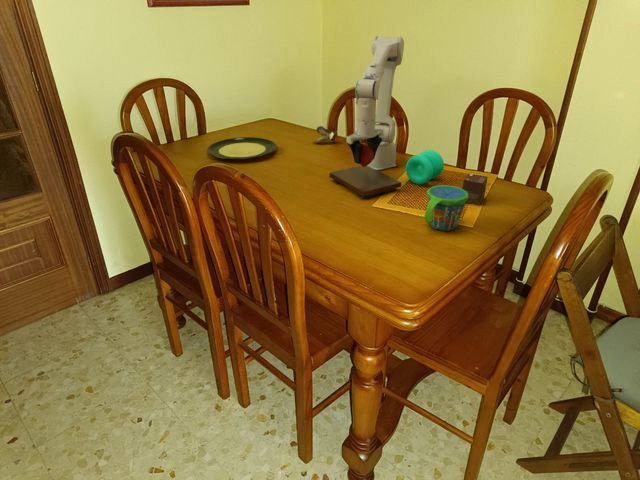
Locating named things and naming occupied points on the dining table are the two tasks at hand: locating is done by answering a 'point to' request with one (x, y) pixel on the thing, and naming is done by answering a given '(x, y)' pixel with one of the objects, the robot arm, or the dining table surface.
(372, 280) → the dining table surface
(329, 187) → the dining table surface
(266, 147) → the plate
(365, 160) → the onion
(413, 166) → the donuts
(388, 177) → the platform
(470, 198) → the box
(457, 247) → the dining table surface
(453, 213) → the snack cup
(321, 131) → the eagle figurine
